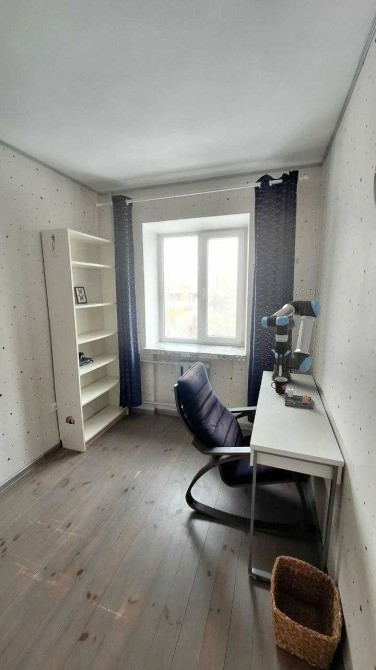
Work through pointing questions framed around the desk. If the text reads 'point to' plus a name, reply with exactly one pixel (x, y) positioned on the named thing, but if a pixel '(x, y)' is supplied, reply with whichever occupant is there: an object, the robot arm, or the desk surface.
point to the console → (297, 401)
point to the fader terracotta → (305, 398)
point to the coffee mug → (280, 385)
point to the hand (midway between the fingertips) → (280, 375)
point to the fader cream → (290, 392)
